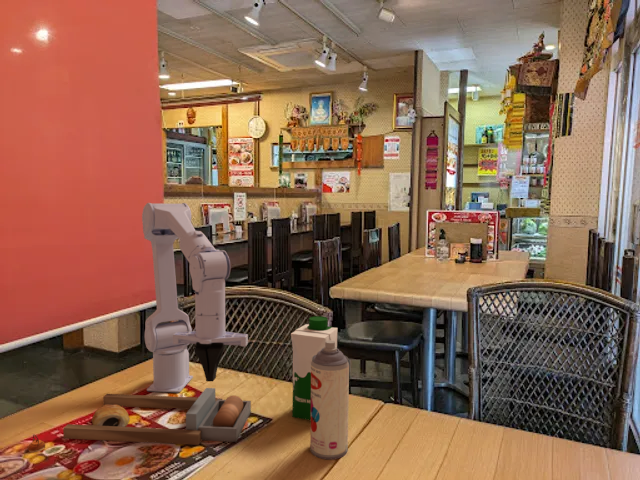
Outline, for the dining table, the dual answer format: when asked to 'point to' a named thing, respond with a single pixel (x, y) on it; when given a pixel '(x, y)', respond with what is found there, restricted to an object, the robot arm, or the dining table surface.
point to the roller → (228, 412)
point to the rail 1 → (150, 401)
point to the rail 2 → (132, 434)
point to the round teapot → (36, 445)
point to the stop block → (200, 409)
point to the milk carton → (307, 361)
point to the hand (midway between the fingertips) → (211, 379)
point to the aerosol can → (329, 402)
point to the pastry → (111, 416)
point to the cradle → (223, 433)
